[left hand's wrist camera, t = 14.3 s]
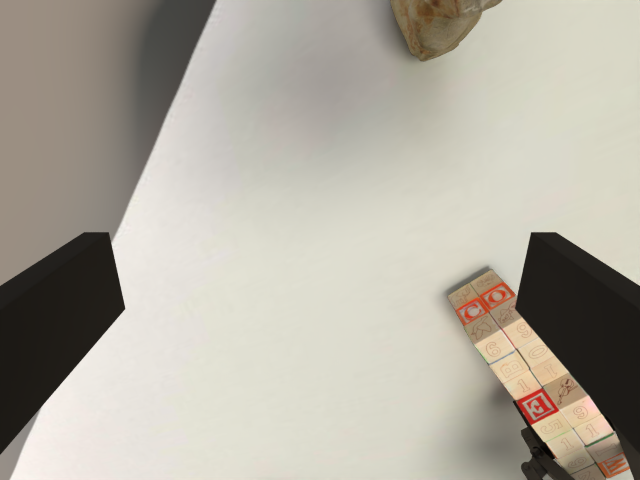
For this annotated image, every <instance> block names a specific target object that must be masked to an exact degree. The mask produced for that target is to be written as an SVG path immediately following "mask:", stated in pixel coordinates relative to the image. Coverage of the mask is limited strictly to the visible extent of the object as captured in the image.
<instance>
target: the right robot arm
mask: <svg viewBox="0 0 640 480" xmlns="http://www.w3.org/2000/svg"><path fill="white" fill-rule="evenodd" d="M579 385H580V384H579ZM584 391H585V390H584ZM585 392H586V391H585ZM590 398H591V397H590ZM591 399H592V398H591ZM592 401H593V400H592ZM593 402H594V401H593ZM513 403H514V405H515V406H516V408H517V410H518V411H519V413H520V414H521V416H522V418H523V419H524V421H525V423H526V424H527V426H528V427H527V428H525V429H523V430H521V435H522V437H523V438H524V440H525V442H526V444H527V445H528V447H529V449H530V452H531V454H532V459H531V460H530V461H529V462H524V463H523V464H522V465H521V469H522V471H523V473H524V474H525V476H526V478H527V479H528V480H543V479H542V478H543V477H544V476H545V475H546V474H548V475H549V476H550V477H551V478H552V479H553V480H575V479H574V478H573V477H572V476H571V475H570V474H568V473H567V472H566V471H565V470H564V469H563V468H562V467H560V466H559V465H558V464H557V463H556V462H555V461H554V460H553V459H555V456H554V455H553V453H552V452H551V450H550V449H549V447H548V446H547V444H546V443H545V442H543V440H542V439H541V438H540V436H539V435H538V434H537V433H536V431H535V430H534V429H533V427H532V426H531V425H530V423H529V422H528V420H527V418H526V417H525V415H524V414H523V412H522V410H521V409H520V407H519V406H518V404H517V403H516V401H513ZM594 404H595V405H596V407H597V408H598V409H599V411H600V413H601V414H602V415H603V416H604V418H605V419H606V420H607V422H608V423H609V425H610V426H611V428H612V429H613V431H616V434H617V436H618V439H619V441H620V444H621V447H622V449H623V452H624V454H625V457H626V459H627V462H628V465H629V467H630V470H631V472H632V475H633V477H634V480H640V454H639V453H638V452H637V451H636V450H635V449H634V447H633V446H632V445H631V444H630V443H629V442H628V440H627V439H626V438H625V437H624V436H623V435H622V433H621V432H620V431H619V430H618V429H617V428H616V426H615V425H614V424H613V423H612V422H611V421H610V419H609V418H608V417H607V416H606V415H605V414H604V412H603V411H602V410H601V409H600V408H599V407H598V405H597V404H596V403H595V402H594Z"/></svg>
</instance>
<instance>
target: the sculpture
mask: <svg viewBox="0 0 640 480" xmlns="http://www.w3.org/2000/svg"><path fill="white" fill-rule="evenodd" d="M501 1H502V0H390V2H391V6H392V10H393V13H394V15H395V18H396V20H397V23H398V25H399V27H400V29H401V31H402V33H403V35H404V37H405V39H406V42H407V45H408V47H409V50H410V52H411V54H412V55H414V56H416V57H417V58H418V59H419V60H420V61H427V60H430V59H433V58H436V57H438V56H441V55H443V54H445V53H447V52H449V51H452V50H453V49H455V48H456V47H457V46H458V45H459V42H460V41H462V40H463V39H464V38H465V37H466V36H467V34H468V33H469V32H470V31H471V30H472V29H473V27H474V26H475V25H476V24H477V22H478V21H479V19H480V17H481V15H482V12H483V11H485V10H487V9H489V8H491V7H494V6H496V5H497V4H499V3H500V2H501Z"/></svg>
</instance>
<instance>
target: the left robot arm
mask: <svg viewBox="0 0 640 480" xmlns="http://www.w3.org/2000/svg"><path fill="white" fill-rule="evenodd" d="M124 310H125V305H124V300H123V296H122V291H121V287H120V282H119V277H118V273H117V268H116V263H115V259H114V254H113V250H112V245H111V240H110V236H109V233H108V232H84V233H83V234H81V235H79V236H78V237H76V238H75V239H73V240H72V241H70V242H68V243H67V244H65V245H64V246H62V247H60V248H59V249H57V250H56V251H54V252H53V253H51V254H50V255H48V256H46V257H45V258H43V259H42V260H40V261H39V262H37V263H36V264H34V265H32V266H31V267H29V268H28V269H26V270H24V271H23V272H21V273H20V274H18V275H17V276H15V277H14V278H12V279H10V280H9V281H7V282H6V283H4V284H3V285H1V286H0V454H1V453H2V452H3V451H4V450H5V449H6V447H7V446H8V445H9V444H10V443H11V442H12V440H13V439H14V438H15V437H16V436H17V435H18V433H19V432H20V431H21V430H22V429H23V428H24V426H25V425H26V424H27V423H28V422H29V421H30V419H31V418H32V417H33V416H34V415H35V414H36V412H37V411H38V410H39V409H40V408H41V407H42V405H43V404H44V403H45V402H46V401H47V400H48V398H49V397H50V396H51V395H52V394H53V393H54V391H55V390H56V389H57V388H58V387H59V386H60V384H61V383H62V382H63V381H64V380H65V379H66V377H67V376H68V375H69V374H70V373H71V372H72V370H73V369H74V368H75V367H76V366H77V365H78V363H79V362H80V361H81V360H82V359H83V358H84V356H85V355H86V354H87V353H88V352H89V351H90V349H91V348H92V347H93V346H94V345H95V344H96V342H97V341H98V340H99V339H100V338H101V337H102V335H103V334H104V333H105V332H106V331H107V330H108V328H109V327H110V326H111V325H112V324H113V323H114V321H115V320H116V319H117V318H118V317H119V316H120V314H121V313H122V312H123V311H124ZM515 310H516V311H517V312H518V313H519V314H520V316H521V317H522V318H523V319H524V320H525V321H526V323H527V324H528V325H529V326H530V327H531V328H532V330H533V331H534V332H535V333H536V334H537V335H538V337H539V338H540V339H541V340H542V341H543V342H544V344H545V345H546V346H547V347H548V348H549V349H550V351H551V352H552V353H553V354H554V355H555V356H556V358H557V359H558V360H559V361H560V362H561V363H562V365H563V366H564V367H565V368H566V369H567V370H568V372H569V373H570V374H571V375H572V376H573V377H574V379H575V380H576V381H577V382H578V383H579V384H580V386H581V387H582V388H583V389H584V390H585V391H586V393H587V394H588V395H589V396H590V397H591V398H592V400H593V401H594V402H595V403H596V404H597V405H598V407H599V408H600V409H601V410H602V411H603V412H604V414H605V415H606V416H607V417H608V418H609V419H610V421H611V422H612V423H613V424H614V425H615V426H616V428H617V429H618V430H619V431H620V432H621V433H622V435H623V436H624V437H625V438H626V439H627V440H628V442H629V443H630V444H631V445H632V446H633V447H634V449H635V450H636V451H637V452H638V453H639V454H640V286H639V285H637V284H636V283H634V282H633V281H631V280H630V279H628V278H626V277H625V276H623V275H622V274H620V273H619V272H617V271H616V270H614V269H612V268H611V267H609V266H608V265H606V264H605V263H603V262H601V261H600V260H598V259H597V258H595V257H594V256H592V255H590V254H589V253H587V252H586V251H584V250H583V249H581V248H580V247H578V246H576V245H575V244H573V243H572V242H570V241H569V240H567V239H565V238H564V237H562V236H561V235H559V234H558V233H556V232H531V236H530V240H529V245H528V250H527V254H526V259H525V263H524V268H523V273H522V277H521V282H520V287H519V291H518V296H517V300H516V305H515Z"/></svg>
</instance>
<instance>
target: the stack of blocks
mask: <svg viewBox="0 0 640 480" xmlns="http://www.w3.org/2000/svg"><path fill="white" fill-rule="evenodd" d="M448 299H449V301H450V303H451V304H452V306H453V307H454V309H455V312H456V314H457V315H458V317H459V319H460V320H461V322H462V324H463V325H464V329H465V331H466V333H467V334H468V336H469V338H470V340H471V341H472V343H473V344H474V346H475V347H476V349H477V350H478V351H479V353H480V354H481V355H482V357H483V358H484V359H485V360H486V362H487V363H488V365H489V366H490V368H491V369H492V370H493V372H494V373H495V374H496V376H497V377H498V378H499V380H500V381H501V382H502V384H503V385H504V387H505V388H506V389H507V391H508V392H509V393H510V394H511V396H512V397H513V398H514V399H515V401H516V403H517V404H518V406H519V407H520V409H521V410H522V412H523V414H524V415H525V417H526V418H527V420H528V422H529V423H530V425H531V426H532V427H533V429H534V430H535V431H536V433H537V434H538V435H539V436H540V438H541V439H542V440H543V442H545V443H546V444H547V446H548V447H549V449H550V450H551V452H552V453H553V455H554V456H555V458H556V459H557V461H558V462H559V464H560V465H561V466H562V468H563V469H564V470H565V471H566V472H567V473H568V474H570V475H571V476H572V477H573V478H574V479H575V480H606V478H611V477H613V476H615V475H617V474H619V473H622V472H624V471H626V470H628V469H630V467H629V465H628V462H627V459H626V457H625V454H624V452H623V449H622V447H621V444H620V441H619V440H618V438H617V437H616V435H615V434H614V433H613V429H612V428H611V426H610V425H609V423H608V422H607V420H606V419H605V418H604V416H603V415H602V414H601V413H600V411H599V409H598V408H597V407H596V405H595V404H594V402H593V401H592V399H591V398H590V396H589V395H588V394H587V393H586V392H585V391H584V389H583V388H582V387H581V386H580V385H579V383H578V382H577V381H576V380H575V379H574V377H573V376H572V375H571V374H570V373H569V372H568V370H567V369H566V368H565V367H564V366H563V365H562V363H561V362H560V361H559V360H558V359H557V358H556V356H555V355H554V354H553V353H552V352H551V351H550V349H549V348H548V347H547V346H546V345H545V344H544V342H543V341H542V340H541V339H540V338H539V337H538V335H537V334H536V333H535V332H534V331H533V330H532V328H531V327H530V326H529V325H528V324H527V323H526V321H525V320H524V319H523V318H522V317H521V316H520V314H519V313H518V312H517V311H516V310H515V305H516V300H517V296H516V294H515V293H514V292H513V291H512V290H511V289H510V288H509V287H508V286H507V284H506V283H505V282H504V281H503V280H502V279H501V278H500V277H499V276H498V275H497V274H496V273H495V272H494V271H493V270H490V271H488V272H487V273H485V274H483V275H481V276H480V277H478V278H477V279H475V280H473V281H472V282H470V283H468V284H466V285H465V286H463V287H461V288H460V289H458V290H456V291H455V292H453V293H452V294H450V295H449V296H448Z"/></svg>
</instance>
